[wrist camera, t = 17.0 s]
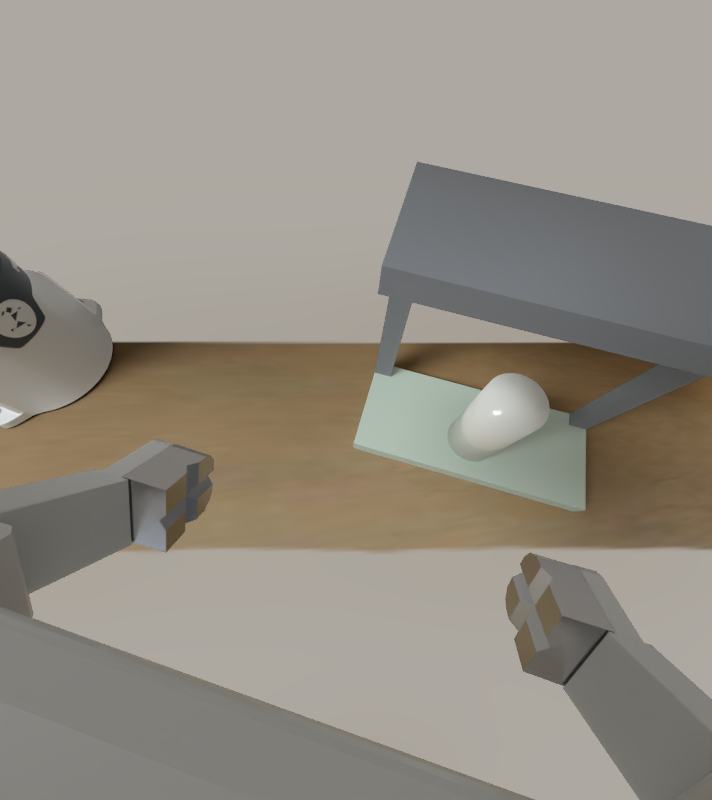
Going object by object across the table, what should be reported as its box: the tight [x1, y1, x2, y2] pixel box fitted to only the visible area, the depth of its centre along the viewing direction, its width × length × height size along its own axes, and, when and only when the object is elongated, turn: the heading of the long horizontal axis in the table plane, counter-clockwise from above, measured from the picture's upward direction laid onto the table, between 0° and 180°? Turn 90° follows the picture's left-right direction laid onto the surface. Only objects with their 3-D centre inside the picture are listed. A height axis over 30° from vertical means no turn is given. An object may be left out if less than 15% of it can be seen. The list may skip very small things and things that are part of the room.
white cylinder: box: [448, 373, 550, 462], centre depth 33 cm, size 6×6×11 cm
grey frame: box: [353, 162, 712, 512], centre depth 28 cm, size 26×11×26 cm, turn 74°
